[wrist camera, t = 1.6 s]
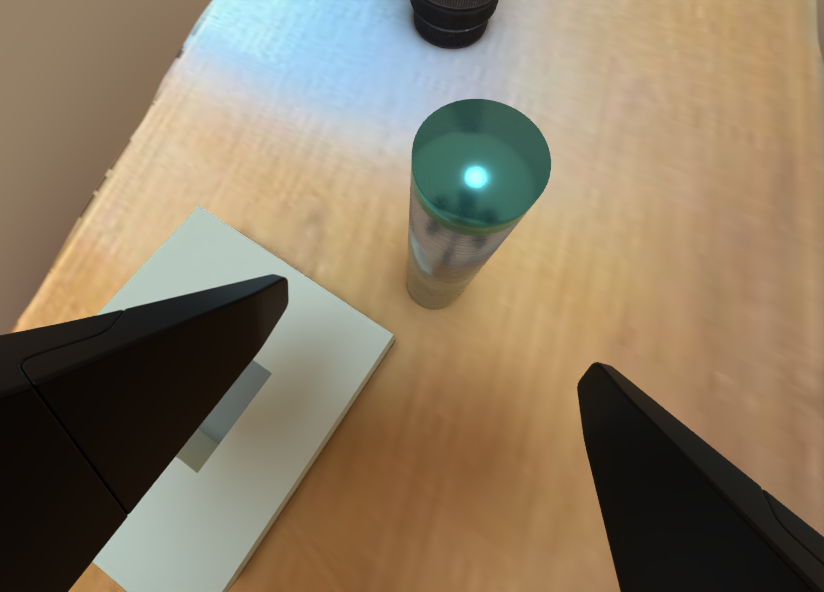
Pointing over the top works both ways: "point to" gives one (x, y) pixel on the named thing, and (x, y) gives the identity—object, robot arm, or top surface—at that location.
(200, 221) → the socket block
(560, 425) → the top surface
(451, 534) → the top surface
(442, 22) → the camera lens
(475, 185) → the pin
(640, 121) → the top surface
